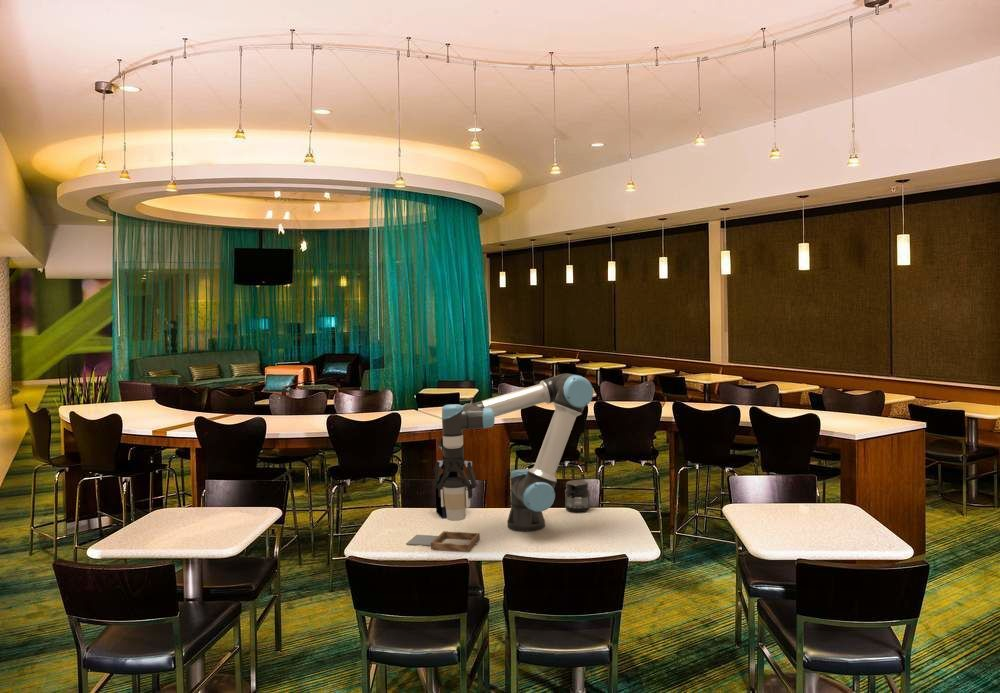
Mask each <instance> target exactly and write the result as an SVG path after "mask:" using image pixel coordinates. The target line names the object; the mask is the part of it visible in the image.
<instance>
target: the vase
mask: <svg viewBox="0 0 1000 693" xmlns="http://www.w3.org/2000/svg"><path fill="white" fill-rule="evenodd" d="M437 445H438V448H439V450H440V451H441V452H442V453H443V448H444V446H443V437H441V438H439V437H437ZM443 459H444V454H443V456H442V458H441V459H439V460H440V461H443ZM445 469H446V467H445V466H444V464H443V465H442V466H441V470H443V471H442V473H440V477H439V483H440V481H441V479H442V477H443V474H444V471H445ZM433 470H434V473H435V472H436V464H435V465H434V469H433ZM448 478H461V476H460V475H458V474H457V472H454V471H452V472H449V474H448V476H447V478H446V479H448ZM439 483H438V484H439ZM442 488H443V487H442ZM435 512H436V514H437V515H438V516H439V517H440V518H441V519H445V520H446V519H447V513H446V508H445V506H444V507H441V497H439V496H438V488H436V487H435ZM466 516H467V515H466V514H465V517H466Z"/></svg>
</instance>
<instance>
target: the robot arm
mask: <svg viewBox="0 0 1000 693" xmlns="http://www.w3.org/2000/svg"><path fill="white" fill-rule="evenodd" d="M593 397H594V388H593V386H592V383H591V382H590V381H589V379H587V378H586V377H583V376H582V375H578V374H573V373H568V372H567V373H560V374H558V375H555V376H552V377H549V378H546V379H543V380H541V381H540V382H539V383H537V384H535V385H532V386H528V387H525V388H521V389H518V390H517V389H516V390H515V391H511V392H508V393H505V394H501V395H498V396H494V397H490V398H486V399H485V400H484V399H483V400H481V401H477V402H473V403H471V402H470V403H469V402H468V403H465V404H463V405H462V404H456V403H455V404H452V403H451V404H445V405H443V406H442V408H441V423H442V424H441V425H442V426H441V427H442V439H443V446H444V448H443V452H442V453H443V455H444V459H443V461H440V460H441V459H439V460H437V461H436V462H435V465H436V472H434V473H435V474H434V478H433V484H432V486H433V488H435V489H436V488H438V496H439V497H441V507H444V506H445V500H444V488H442V487H443V483H444V482H445V481H446V478H447V476H448V474H449V472H452V471H454V472H456V473H458V474H459V477H460V478H462V479H463V481H464V483H465V485H466V509H468V508H470V507H471V499H472V498H473V489H475V488H476V487H477V486H478V484H477V481H476V480H477V479H476V476H475V472H474V469H473V460H469V461H468V460H466V459H465V452H464V450H465V449H464V446H463V445H464V431H465V430H466V431H467V430H477V429H479V430H480V429H488V428H492V427H494V425H495V422H496V421H495V420H496V417H499V416H502V415H506V414H509V413H512V412H516V411H520V410H522V409H526V408H529V407H533V406H536V405H539V404H543V403H545V404H547V405H549V404H552V403H553V406H554V408H555V410H554V412H553V414H552V417H551V420H550V423H549V424H548V425H549V426H548V428H547V431H546V434H545V436H544V439H543V441H542V445H541V448H540V449H539V452H538V455H537V457H536V461H535V463H534V465H533V467H531V468H521V469H515V470H511V472H510V478H509V480H510V502H511V503H510V506H511V507H510V511H509V514H508V518H507V522H506V523H507V524H506V526H507V528H508V529H509V530H511V531H514V532H516V531H517V532H524V533H525V532H535V531H540V530H542V529H544V528H545V526H546V522H545V518H544V514H543V512H545V511H546V510H548V509H550V508H551V507H552V505H553V504H554V503H555V502H554V501H555V499H556V492H555V486H556V484H557V478H556V472H557V470H558V467H559V465H560V461H561V460H562V457H563V454H564V451H565V448H566V446H567V443H568V441H569V437H570V435H571V431H572V430H573V427H574V424H575V422H576V419H577V417H578V416H581V415H583V411H584V409H585V407H586V406H588V405H589V404H590V403H591V401H592V400H593ZM443 464H444V466H445V467H446V469H445V471H444V474H443V477H442V479H441V481H440V483H439V477H440V475H441V470H442V468H441V466H442V465H443ZM464 465H465V467H466V469H467V472H468V473H467V474H468V475H467V474H466V471H465V469H464ZM468 477H469V478H468ZM438 483H439V484H438Z"/></svg>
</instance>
